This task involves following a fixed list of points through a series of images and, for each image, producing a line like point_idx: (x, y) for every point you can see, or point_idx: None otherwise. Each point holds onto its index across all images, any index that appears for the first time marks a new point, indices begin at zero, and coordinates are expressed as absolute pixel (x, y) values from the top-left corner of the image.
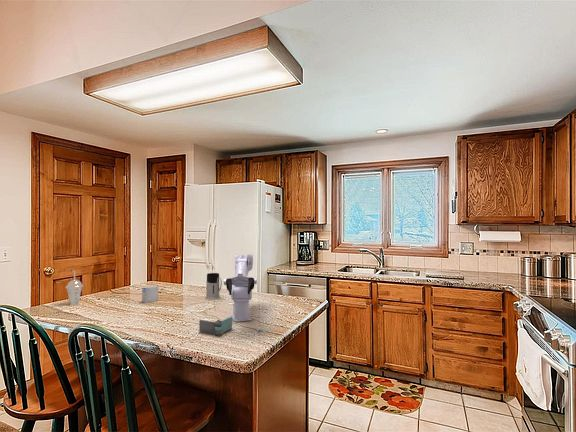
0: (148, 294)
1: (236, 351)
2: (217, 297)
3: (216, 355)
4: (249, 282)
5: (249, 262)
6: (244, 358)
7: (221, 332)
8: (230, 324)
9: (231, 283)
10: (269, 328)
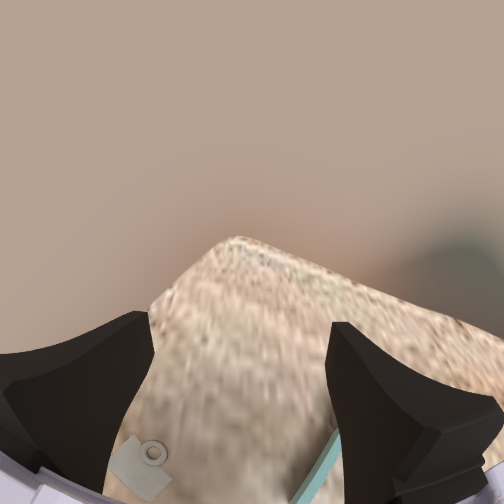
0: None
1: (258, 281)
2: None
3: (309, 265)
4: (61, 356)
5: None
6: (238, 248)
7: (332, 417)
8: (299, 491)
9: (379, 439)
10: (108, 465)
